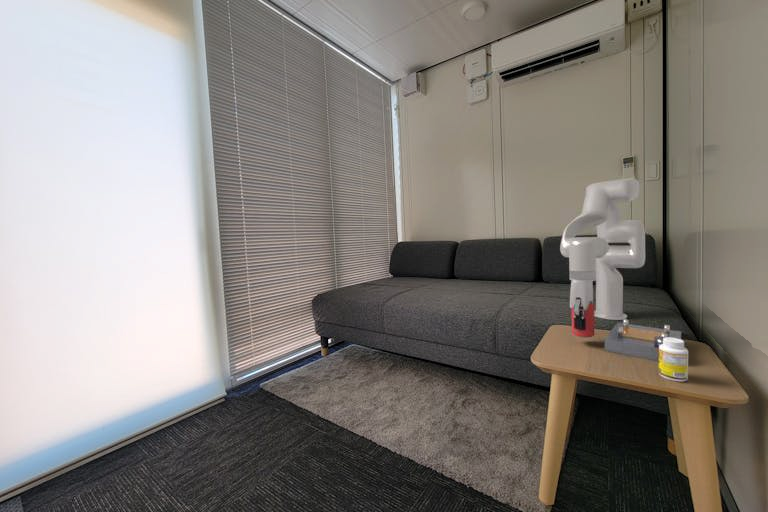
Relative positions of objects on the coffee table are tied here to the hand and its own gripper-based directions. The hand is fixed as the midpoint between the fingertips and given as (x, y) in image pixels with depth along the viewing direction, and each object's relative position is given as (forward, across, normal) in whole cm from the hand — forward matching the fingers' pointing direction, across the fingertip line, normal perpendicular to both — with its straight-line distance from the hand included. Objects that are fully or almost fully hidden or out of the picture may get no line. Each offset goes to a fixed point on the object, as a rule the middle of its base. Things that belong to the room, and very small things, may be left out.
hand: (582, 325), depth 103 cm
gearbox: (+7, -11, +15) cm, 20 cm away
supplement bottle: (+6, +12, +23) cm, 27 cm away
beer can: (+3, 0, 0) cm, 3 cm away
